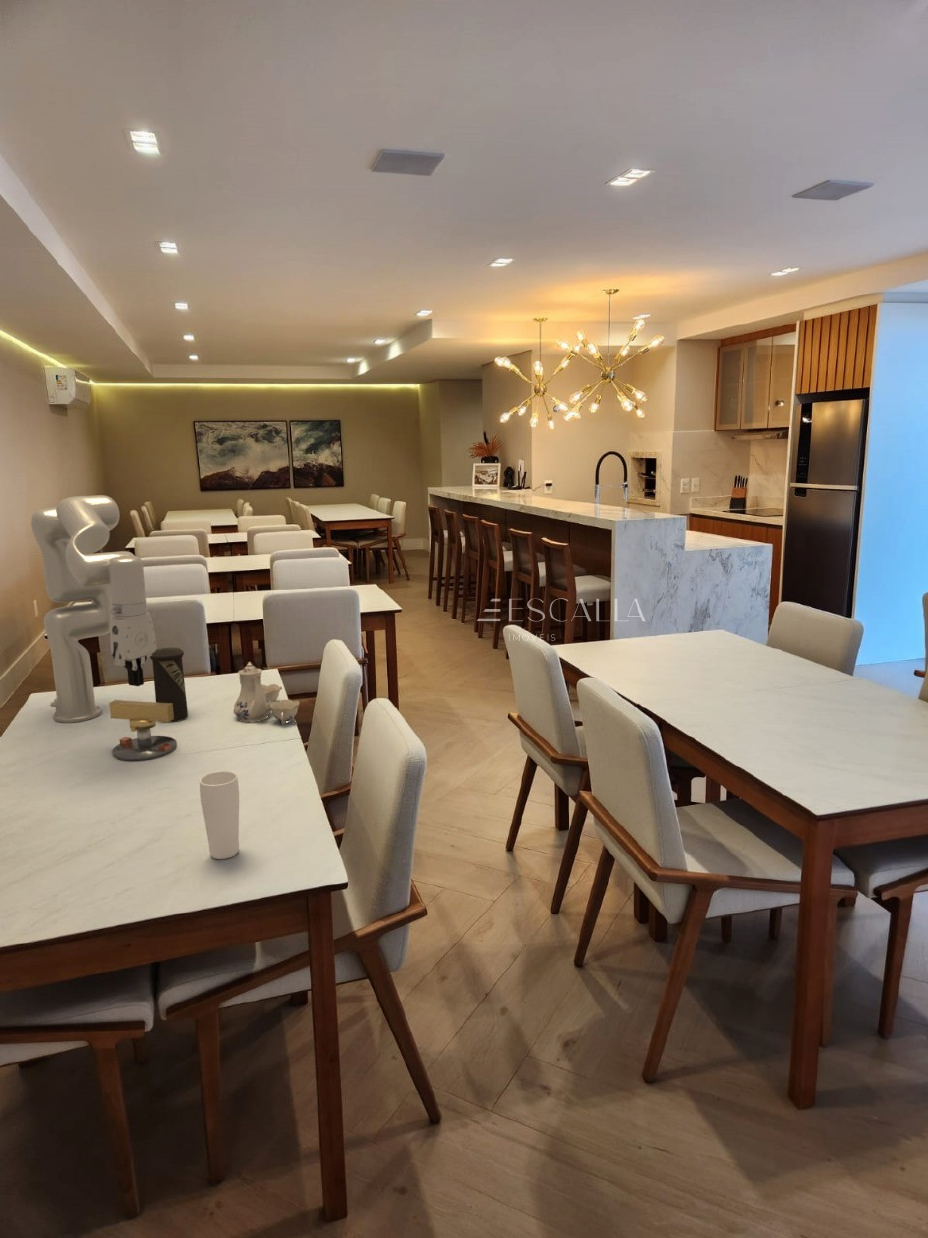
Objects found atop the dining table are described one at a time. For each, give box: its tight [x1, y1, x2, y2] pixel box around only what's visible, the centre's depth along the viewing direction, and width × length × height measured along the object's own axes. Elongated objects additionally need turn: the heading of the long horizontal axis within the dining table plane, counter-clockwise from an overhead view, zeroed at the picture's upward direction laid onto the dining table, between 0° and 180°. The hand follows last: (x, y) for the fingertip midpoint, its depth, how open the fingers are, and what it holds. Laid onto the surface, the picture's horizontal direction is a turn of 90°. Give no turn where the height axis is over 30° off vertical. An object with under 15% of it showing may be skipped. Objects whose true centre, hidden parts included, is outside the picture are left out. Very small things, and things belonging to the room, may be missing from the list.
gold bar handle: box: [108, 699, 174, 733], centre depth 198 cm, size 9×16×6 cm, turn 78°
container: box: [149, 647, 189, 723], centre depth 222 cm, size 9×9×20 cm
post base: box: [112, 728, 178, 762], centre depth 200 cm, size 15×15×6 cm
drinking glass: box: [199, 770, 240, 860], centre depth 147 cm, size 7×7×15 cm
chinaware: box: [232, 661, 301, 725], centre depth 224 cm, size 28×17×17 cm, turn 35°
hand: (136, 684), depth 189 cm, fingers closed
